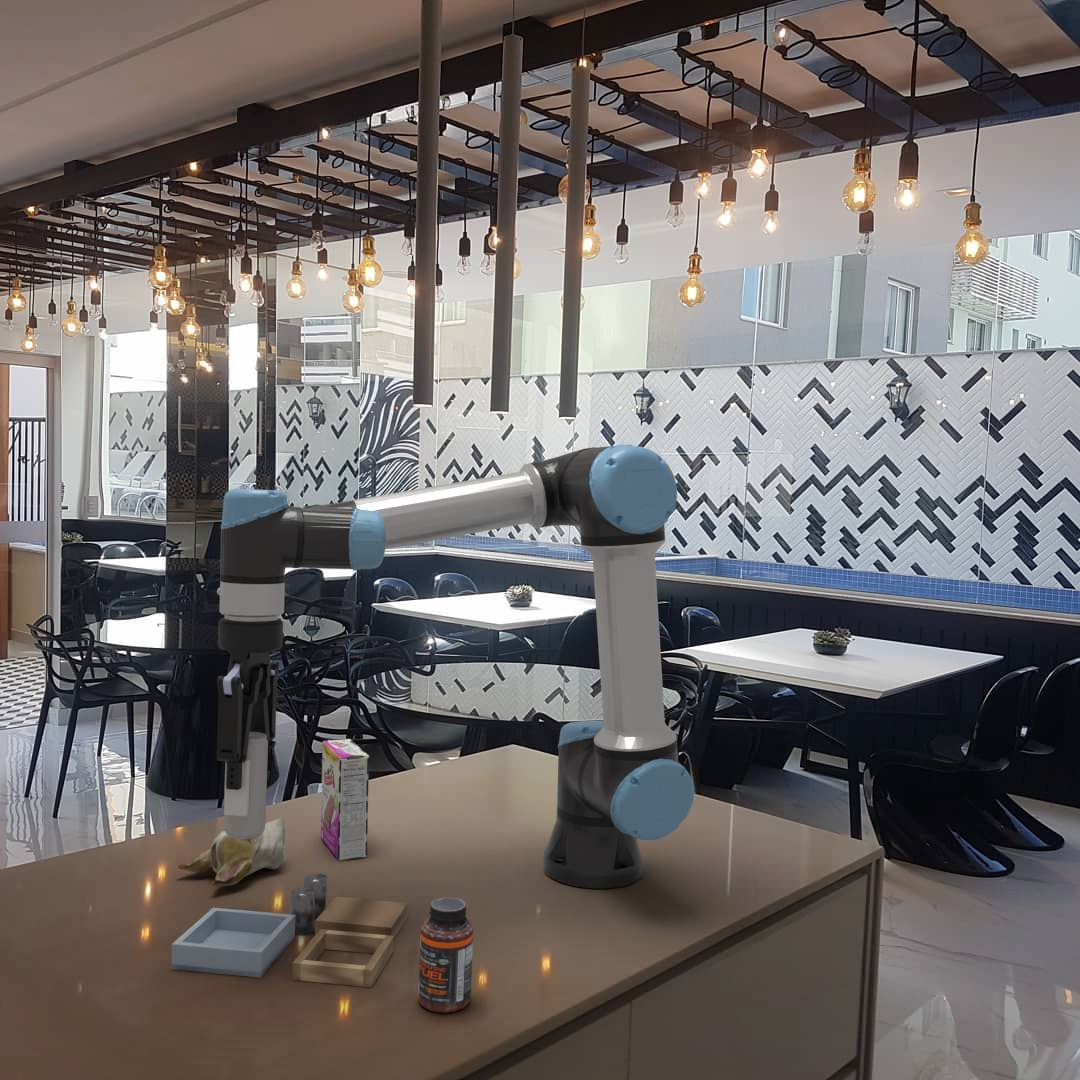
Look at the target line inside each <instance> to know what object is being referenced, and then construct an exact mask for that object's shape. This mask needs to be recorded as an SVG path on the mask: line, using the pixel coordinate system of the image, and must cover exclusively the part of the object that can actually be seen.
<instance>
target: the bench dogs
mask: <svg viewBox="0 0 1080 1080" xmlns="http://www.w3.org/2000/svg"><path fill="white" fill-rule="evenodd" d="M303 881H304V883H303V884H304V887H298V888H295V889H293V890H291V891H290V913H289V914H291V915H295V936H304V935H309V934H311V933H313V932H314V930H315V920H316V919H317V918H318V917H319V916H320V915H321V913H322V912H323V911H324V910H325V909H326V908H327V906H328V900H327V899H328V876H327V875H325V874H321V873H312V874H307V875H306V876H305V877H304V880H303Z"/></svg>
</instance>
